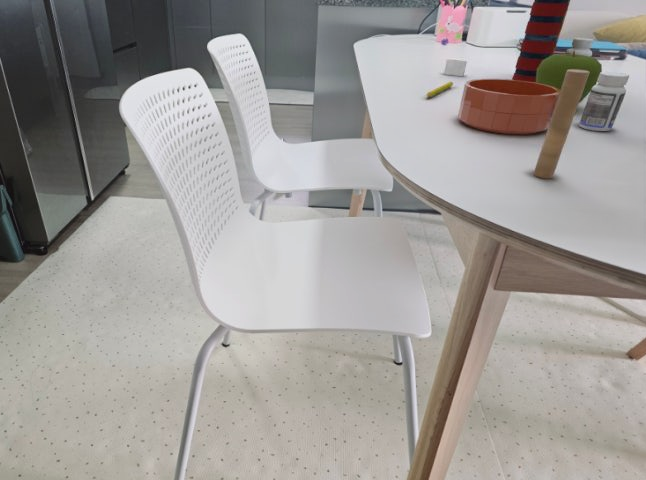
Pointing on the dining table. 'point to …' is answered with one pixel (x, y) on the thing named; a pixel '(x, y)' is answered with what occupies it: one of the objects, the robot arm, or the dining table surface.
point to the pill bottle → (604, 101)
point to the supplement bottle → (581, 47)
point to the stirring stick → (561, 122)
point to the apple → (558, 64)
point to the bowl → (508, 105)
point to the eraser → (455, 67)
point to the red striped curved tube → (540, 37)
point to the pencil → (439, 89)
